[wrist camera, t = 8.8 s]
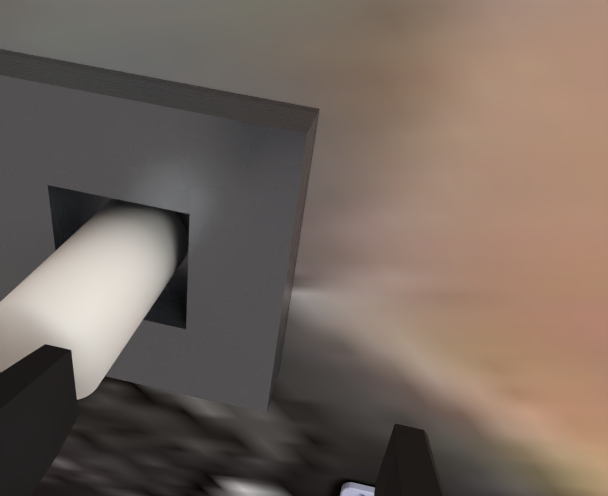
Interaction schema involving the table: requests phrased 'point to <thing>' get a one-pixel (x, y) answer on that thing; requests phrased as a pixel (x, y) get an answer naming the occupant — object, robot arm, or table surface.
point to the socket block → (167, 195)
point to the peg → (94, 289)
